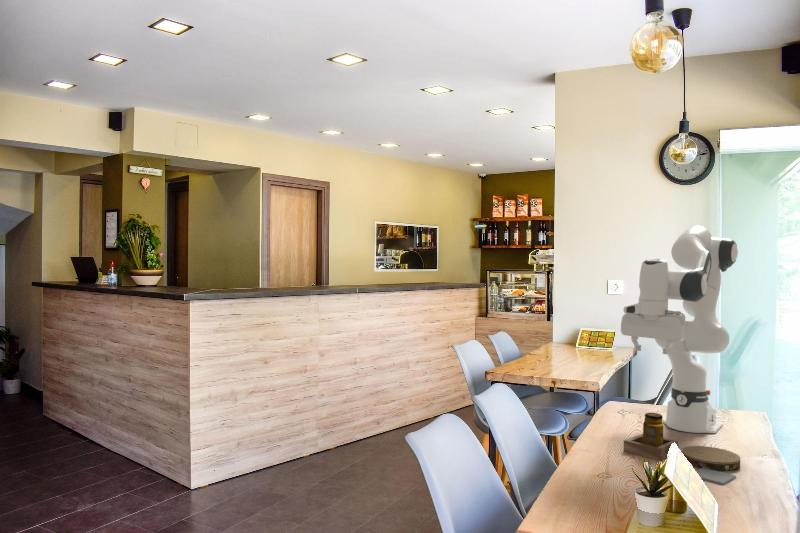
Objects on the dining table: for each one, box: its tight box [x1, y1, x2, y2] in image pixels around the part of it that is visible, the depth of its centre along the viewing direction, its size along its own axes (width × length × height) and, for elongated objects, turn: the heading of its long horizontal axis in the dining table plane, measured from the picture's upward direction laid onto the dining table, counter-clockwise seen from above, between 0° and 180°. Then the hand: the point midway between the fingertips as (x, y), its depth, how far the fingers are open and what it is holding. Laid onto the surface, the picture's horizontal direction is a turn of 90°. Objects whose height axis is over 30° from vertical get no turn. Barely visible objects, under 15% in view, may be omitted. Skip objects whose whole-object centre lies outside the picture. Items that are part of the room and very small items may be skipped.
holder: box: [623, 433, 679, 461], centre depth 200 cm, size 13×12×4 cm
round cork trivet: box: [681, 445, 741, 473], centre depth 190 cm, size 16×16×3 cm
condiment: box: [642, 412, 665, 447], centre depth 200 cm, size 7×8×12 cm
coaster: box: [696, 467, 737, 486], centre depth 177 cm, size 9×9×1 cm
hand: (651, 352), depth 202 cm, fingers open, 8 cm apart
